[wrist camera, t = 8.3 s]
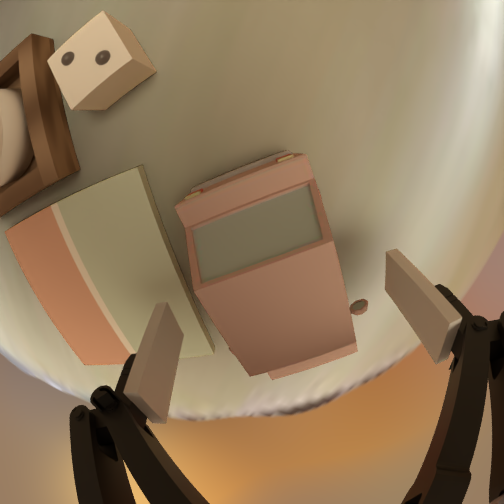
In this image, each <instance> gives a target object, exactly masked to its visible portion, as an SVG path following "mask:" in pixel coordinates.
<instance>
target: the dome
mask: <svg viewBox="0 0 504 504" xmlns="http://www.w3.org/2000/svg"><path fill="white" fill-rule="evenodd" d="M33 155H34V151H33V147H32V143H31V139H30V134H29V130H28V125H27V120H26V115H25V110H24V104H23V97H22V90H21V89H20V88H10V89H0V187H1V186H3V185H5V184H7V183H9V182H12V181H14V180H16V179H18V178H19V177H20V176H22V175H23V173H24V172H25V171H26V169H27V168H28V166H29V164H30V162H31V160H32V158H33Z"/></svg>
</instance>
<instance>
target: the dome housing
mask: <svg viewBox="0 0 504 504" xmlns="http://www.w3.org/2000/svg"><path fill="white" fill-rule="evenodd" d="M54 53H55V51H54V42H53V39H50V38H47V37H43V36H39V35H35V34H30V35H29V36H28V37H27V38H26V39H24V40H23V41H22V42H21V43H20V44H19V45H18V46H16V47H15V48H14V49H13V50H12V51H11V52H10V53H9V54H8V55H7V56H6V57H5V58H4V59H3V60H2V61H1V62H0V89H10V88H20V89H21V90H22V97H23V104H24V110H25V115H26V120H27V125H28V130H29V134H30V139H31V143H32V147H33V151H34V155H33V158H32V160H31V162H30V164H29V166H28V168H27V169H26V171H25V172H24V173H23V175H22V176H20V177H19V178H18V179H16V180H14V181H12V182H9V183H7V184H5V185H3V186H1V187H0V217H2V216H3V215H4V214H6V213H7V212H9V211H10V210H12V209H13V208H15V207H16V206H18V205H19V204H21V203H22V202H24V201H25V200H27V199H29V198H30V197H32V196H34V195H35V194H37V193H38V192H40V191H42V190H44V189H45V188H47V187H49V186H50V185H52V184H54V183H56V182H58V181H59V180H61V179H63V178H65V177H67V176H69V175H71V174H73V173H75V172H76V171H78V170H80V166H79V163H78V160H77V156H76V153H75V150H74V146H73V143H72V139H71V135H70V131H69V128H68V124H67V119H66V115H65V111H64V106H63V101H62V96H61V91H60V87H59V85H58V83H57V81H56V79H55V77H54V75H53V73H52V70H51V68H50V66H49V64H48V62H47V60H48V59H49V58H50V57H51V56H52V55H53V54H54Z"/></svg>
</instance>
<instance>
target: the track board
mask: <svg viewBox="0 0 504 504" xmlns="http://www.w3.org/2000/svg"><path fill="white" fill-rule="evenodd" d="M5 234H6V236H7V239H8V241H9V243H10V246H11V248H12V250H13V252H14V254H15V256H16V259H17V261H18V263H19V265H20V267H21V269H22V271H23V273H24V274H25V276H26V278H27V280H28V282H29V284H30V286H31V287H32V289H33V291H34V293H35V294H36V296H37V298H38V299H39V301H40V303H41V304H42V306H43V308H44V309H45V311H46V312H47V314H48V316H49V317H50V319H51V320H52V322H53V323H54V325H55V326H56V328H57V329H58V330H59V332H60V333H61V335H62V336H63V338H64V339H65V340H66V342H67V343H68V344H69V346H70V347H71V348H72V350H73V351H74V352H75V354H76V355H77V356H78V357H79V359H80V360H81V361H82V362H83V364H84V365H110V364H125V362H126V360H127V359H128V357H129V356H130V355H131V354H135V353H137V351H138V349H139V346H140V343H141V341H142V338H143V335H144V333H145V330H146V327H147V325H148V322H149V320H150V317H151V315H152V312H153V310H154V307H155V305H156V303H162V302H168V304H169V306H170V308H171V310H172V312H173V314H174V316H175V318H176V320H177V322H178V324H179V326H180V328H181V330H182V332H183V334H184V337H183V342H182V346H181V351H180V356H179V359H183V358H192V357H199V356H207V355H213V354H214V350H215V346H214V344H213V342H212V340H211V338H210V336H209V333H208V331H207V329H206V327H205V325H204V323H203V320H202V318H201V316H200V314H199V312H198V309H197V307H196V305H195V303H194V300H193V298H192V296H191V293H190V291H189V289H188V286H187V284H186V282H185V279H184V277H183V274H182V272H181V270H180V267H179V265H178V262H177V260H176V257H175V255H174V252H173V250H172V247H171V245H170V242H169V239H168V237H167V234H166V231H165V229H164V226H163V223H162V221H161V218H160V215H159V212H158V210H157V207H156V204H155V201H154V198H153V195H152V192H151V189H150V186H149V183H148V180H147V177H146V174H145V171H144V168H143V165H140V166H138V167H135V168H132V169H130V170H127V171H125V172H122V173H120V174H117V175H115V176H112V177H110V178H108V179H105V180H103V181H101V182H98V183H96V184H94V185H91V186H89V187H87V188H85V189H83V190H80V191H78V192H76V193H74V194H72V195H70V196H68V197H66V198H64V199H62V200H60V201H58V202H56V203H54V204H52V205H50V206H48V207H46V208H44V209H43V210H41V211H39V212H37V213H35V214H33V215H32V216H30V217H28V218H26V219H25V220H23V221H21V222H19V223H18V224H16V225H14V226H13V227H11V228H10V229H8V230H7V231H5Z"/></svg>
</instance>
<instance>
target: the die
mask: <svg viewBox="0 0 504 504" xmlns="http://www.w3.org/2000/svg"><path fill="white" fill-rule="evenodd" d="M47 62H48V64H49V66H50V68H51V70H52V73H53V75H54V77H55V79H56V81H57V83H58V85H59V87H60V89H61V91H62V93H63V95H64V97H65V99H66V101H67V103H68V105H69V107H70V109H71V110H106V109H107V108H109V107H110V106H111V105H112V104H113V103H115V102H116V101H117V100H118V99H120V98H121V97H122V96H124V95H125V94H126V93H127V92H129V91H130V90H131V89H133V88H134V87H136V86H137V85H138V84H140V83H141V82H143V81H144V80H145V79H147V78H148V77H150V76H151V75H153V74H154V73H156V72H157V71H156V70H155V68H154V66H153V65H152V63H151V62H150V60H149V58H148V57H147V55H146V54H145V52H144V50H143V49H142V47H141V46H140V44H139V42H138V41H137V39H136V38H135V36H134V35H133V33H132V31H131V30H130V29H129V28H128V27H126V26H125V25H123V24H122V23H121V22H119V21H118V20H116V19H115V18H114V17H112V16H111V15H109V14H108V13H106V12H105V11H102V12H100V13H99V14H98V15H96V16H95V17H94V18H93V19H91V20H90V21H89V22H88V23H86V24H85V25H84V26H83V27H82V28H80V29H79V30H78V31H77V32H76V33H75V34H74V35H73V36H71V37H70V38H69V39H68V40H67V41H66V42H65V43H64V44H63V45H62V46H61V47H60V48H59V49H58V50H57V51H56V52H55V53H54V54H53V55H52V56H51V57H50V58H49V59H48V60H47Z"/></svg>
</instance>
